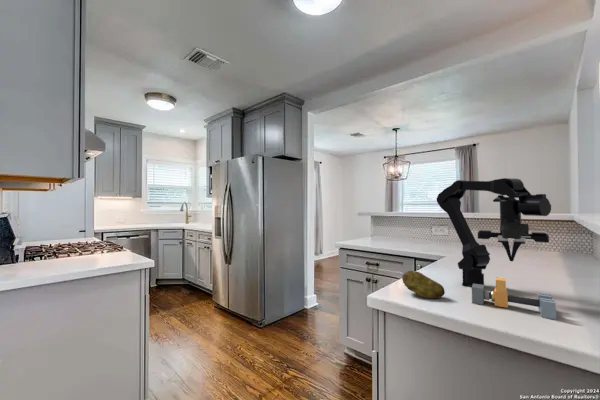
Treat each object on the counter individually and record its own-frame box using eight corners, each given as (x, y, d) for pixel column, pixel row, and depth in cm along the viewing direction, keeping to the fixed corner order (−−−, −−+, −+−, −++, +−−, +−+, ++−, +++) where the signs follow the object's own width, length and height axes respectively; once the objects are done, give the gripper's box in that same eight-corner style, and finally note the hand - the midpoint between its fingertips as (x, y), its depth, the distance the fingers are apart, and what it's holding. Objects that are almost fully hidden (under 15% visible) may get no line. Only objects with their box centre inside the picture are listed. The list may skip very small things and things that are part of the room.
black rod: (481, 298, 87) (481, 292, 87) (481, 296, 89) (481, 290, 89) (539, 307, 79) (539, 300, 79) (539, 305, 80) (538, 298, 80)
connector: (472, 302, 87) (471, 287, 87) (473, 298, 91) (473, 283, 91) (489, 305, 85) (488, 289, 85) (489, 301, 89) (489, 285, 89)
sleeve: (494, 305, 84) (494, 279, 84) (495, 301, 88) (494, 276, 88) (507, 307, 82) (507, 281, 82) (507, 303, 86) (506, 278, 86)
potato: (435, 303, 87) (435, 278, 87) (398, 293, 97) (398, 270, 97) (447, 297, 92) (446, 274, 92) (411, 289, 102) (411, 267, 102)
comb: (541, 317, 76) (541, 300, 76) (537, 307, 83) (537, 292, 83) (556, 319, 74) (555, 303, 74) (551, 309, 81) (550, 294, 82)
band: (491, 302, 85) (491, 291, 85) (491, 299, 88) (491, 289, 88) (494, 303, 84) (494, 292, 85) (494, 300, 87) (494, 289, 87)
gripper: (476, 215, 92) (477, 262, 92) (550, 216, 81) (552, 269, 81) (478, 214, 101) (479, 256, 101) (545, 215, 90) (547, 262, 90)
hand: (511, 261), depth 93 cm, fingers closed
